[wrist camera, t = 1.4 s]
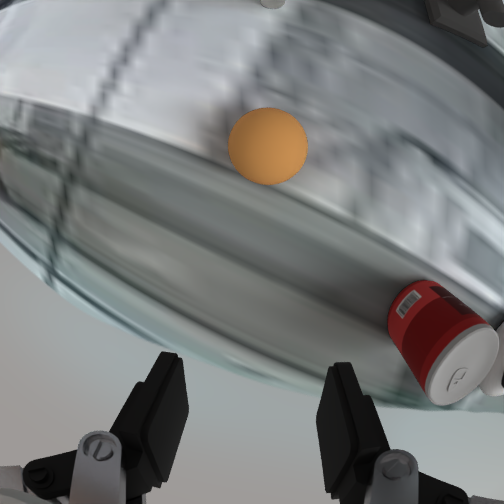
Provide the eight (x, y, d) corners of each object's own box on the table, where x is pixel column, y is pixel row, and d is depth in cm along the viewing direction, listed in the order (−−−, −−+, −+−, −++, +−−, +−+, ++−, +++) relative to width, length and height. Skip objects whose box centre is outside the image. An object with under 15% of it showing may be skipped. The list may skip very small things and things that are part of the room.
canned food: (379, 346, 28) (416, 415, 18) (390, 279, 26) (444, 336, 16) (435, 337, 28) (480, 394, 17) (448, 275, 26) (510, 320, 15)
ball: (303, 118, 23) (314, 102, 17) (301, 185, 24) (311, 189, 19) (234, 115, 23) (224, 98, 17) (231, 182, 25) (220, 185, 19)
